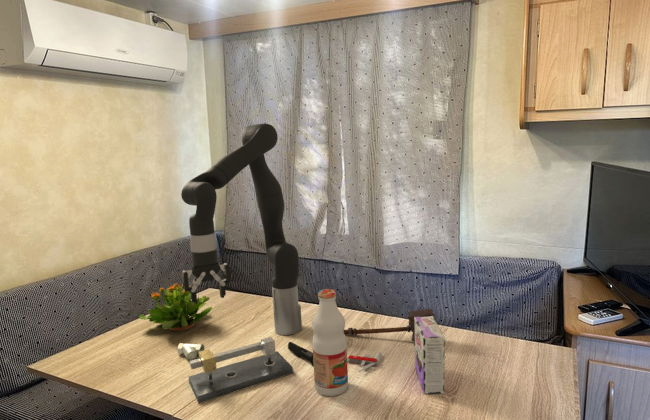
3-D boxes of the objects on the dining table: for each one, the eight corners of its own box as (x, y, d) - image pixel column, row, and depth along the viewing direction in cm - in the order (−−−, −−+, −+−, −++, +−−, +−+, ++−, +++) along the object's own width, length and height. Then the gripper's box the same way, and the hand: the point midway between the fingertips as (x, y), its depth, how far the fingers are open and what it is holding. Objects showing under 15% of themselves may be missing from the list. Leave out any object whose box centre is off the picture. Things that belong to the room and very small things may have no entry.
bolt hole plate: (277, 356, 141) (277, 350, 141) (292, 373, 130) (292, 366, 130) (189, 382, 128) (188, 376, 128) (198, 403, 117) (197, 395, 117)
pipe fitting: (195, 363, 141) (205, 352, 147) (194, 352, 140) (203, 341, 146) (173, 362, 142) (183, 350, 149) (171, 351, 141) (181, 340, 148)
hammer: (439, 344, 141) (432, 315, 141) (344, 353, 152) (337, 326, 151) (440, 335, 148) (433, 307, 147) (349, 344, 158) (342, 318, 157)
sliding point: (211, 368, 130) (209, 346, 129) (217, 379, 124) (215, 356, 123) (200, 371, 129) (198, 349, 128) (206, 383, 122) (204, 360, 121)
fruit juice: (320, 376, 128) (316, 285, 124) (351, 380, 125) (348, 287, 121) (310, 394, 119) (304, 296, 115) (343, 399, 116) (338, 299, 112)
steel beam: (269, 354, 138) (267, 333, 137) (276, 362, 132) (274, 340, 131) (191, 376, 126) (189, 354, 125) (195, 386, 121) (193, 362, 120)
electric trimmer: (294, 348, 148) (294, 339, 147) (323, 364, 136) (323, 354, 135) (285, 351, 145) (284, 342, 145) (314, 368, 133) (313, 358, 133)
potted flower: (191, 309, 186) (187, 269, 184) (229, 320, 173) (225, 277, 170) (137, 331, 166) (132, 287, 164) (175, 345, 153) (170, 297, 150)
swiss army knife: (335, 372, 130) (334, 366, 130) (348, 351, 143) (348, 345, 143) (372, 378, 126) (372, 371, 126) (382, 355, 139) (382, 349, 139)
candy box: (414, 368, 130) (413, 315, 128) (434, 367, 130) (433, 315, 127) (423, 394, 117) (422, 336, 114) (445, 394, 116) (445, 336, 114)
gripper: (224, 242, 137) (228, 292, 140) (177, 249, 131) (182, 301, 133) (230, 246, 131) (235, 298, 133) (181, 254, 124) (187, 309, 127)
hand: (208, 300), depth 133 cm, fingers open, 7 cm apart
